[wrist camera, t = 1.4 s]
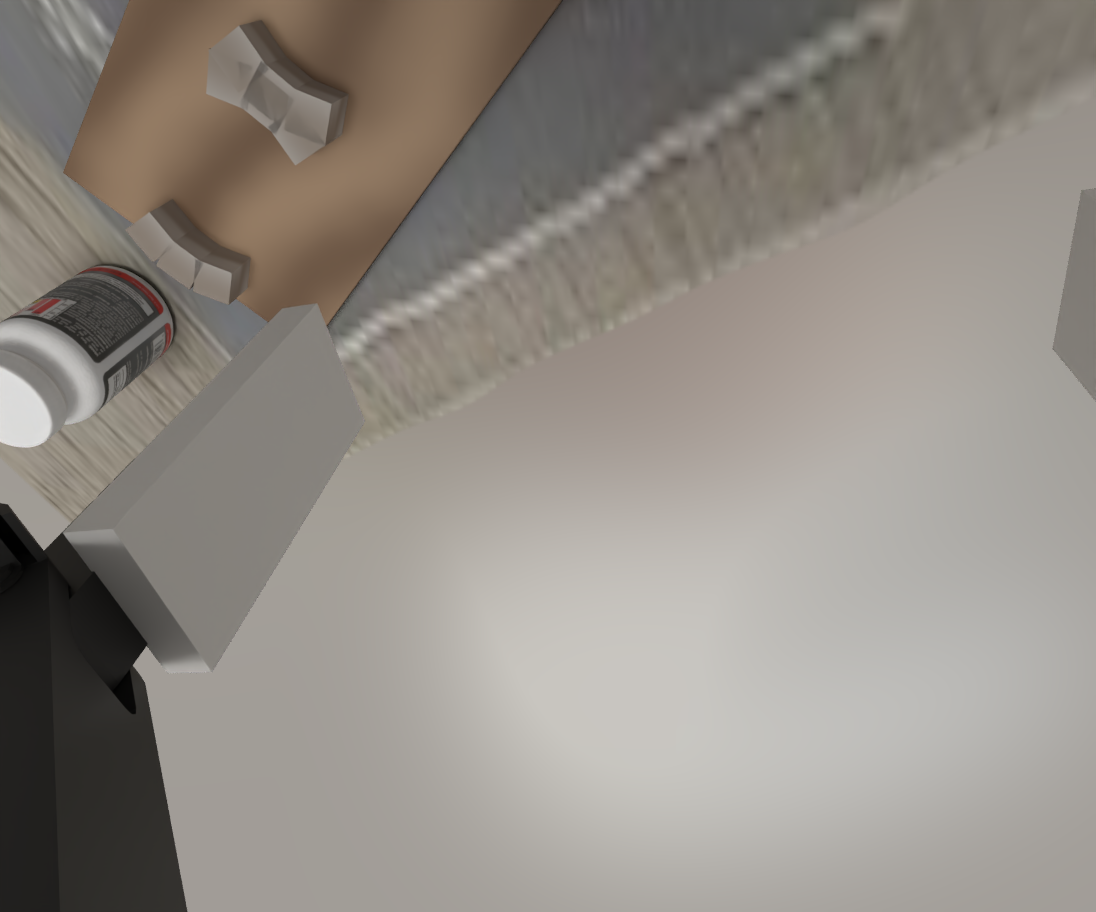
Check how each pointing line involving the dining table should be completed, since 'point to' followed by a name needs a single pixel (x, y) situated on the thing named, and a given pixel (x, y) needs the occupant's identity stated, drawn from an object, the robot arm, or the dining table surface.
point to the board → (287, 132)
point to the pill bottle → (77, 351)
